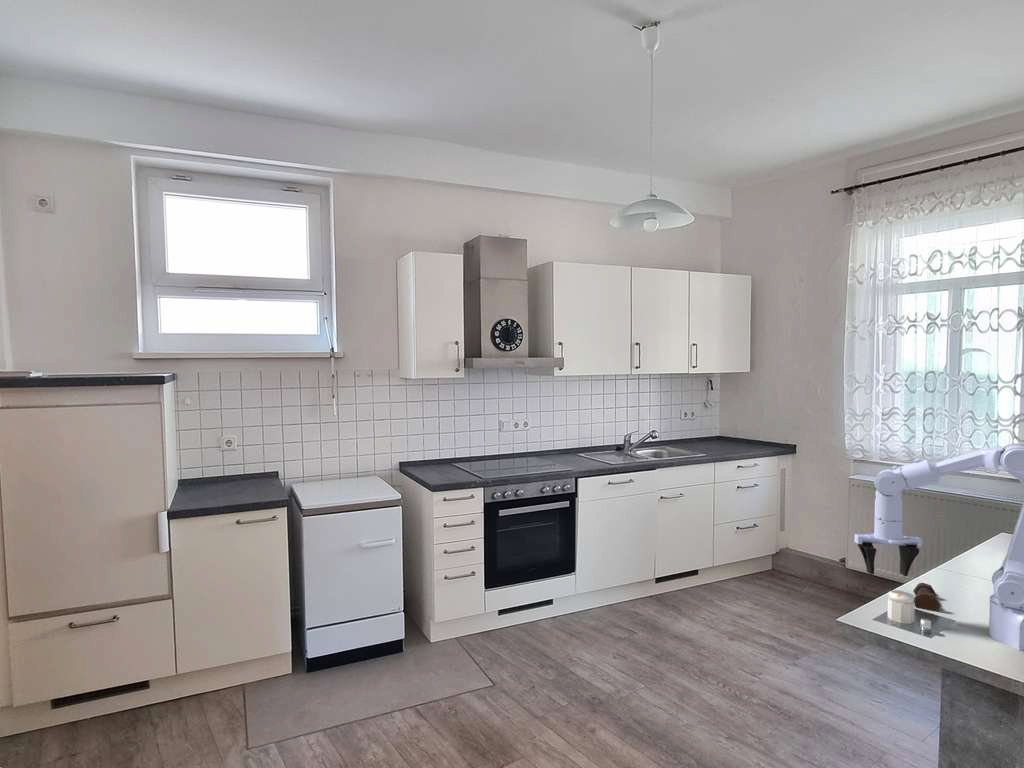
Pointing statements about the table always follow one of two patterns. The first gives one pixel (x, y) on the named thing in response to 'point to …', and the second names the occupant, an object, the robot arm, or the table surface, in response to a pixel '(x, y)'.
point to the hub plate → (919, 623)
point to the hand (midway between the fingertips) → (887, 573)
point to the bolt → (926, 597)
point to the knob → (901, 607)
